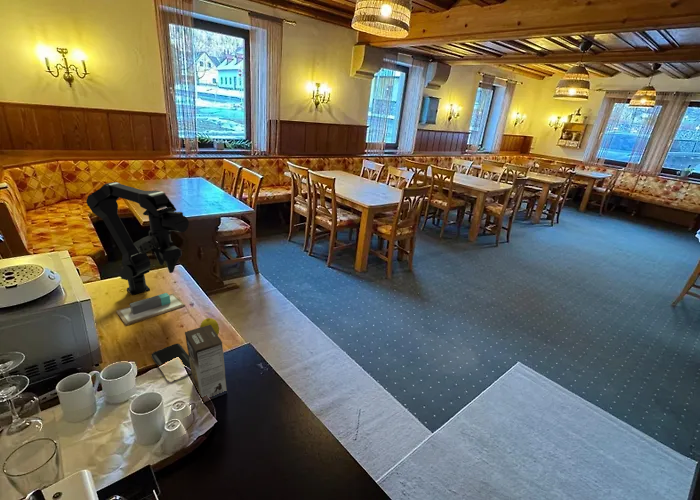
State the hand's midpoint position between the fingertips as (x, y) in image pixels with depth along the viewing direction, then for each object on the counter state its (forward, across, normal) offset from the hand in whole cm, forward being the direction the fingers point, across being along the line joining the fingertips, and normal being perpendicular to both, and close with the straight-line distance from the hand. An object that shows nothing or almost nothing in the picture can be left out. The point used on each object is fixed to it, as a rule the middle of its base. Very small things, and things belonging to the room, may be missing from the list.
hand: (166, 268), depth 126 cm
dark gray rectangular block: (+11, +4, -8) cm, 14 cm away
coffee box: (+12, +54, -10) cm, 56 cm away
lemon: (+12, +35, -1) cm, 37 cm away
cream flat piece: (+12, +4, -8) cm, 15 cm away
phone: (+13, +38, -13) cm, 42 cm away
